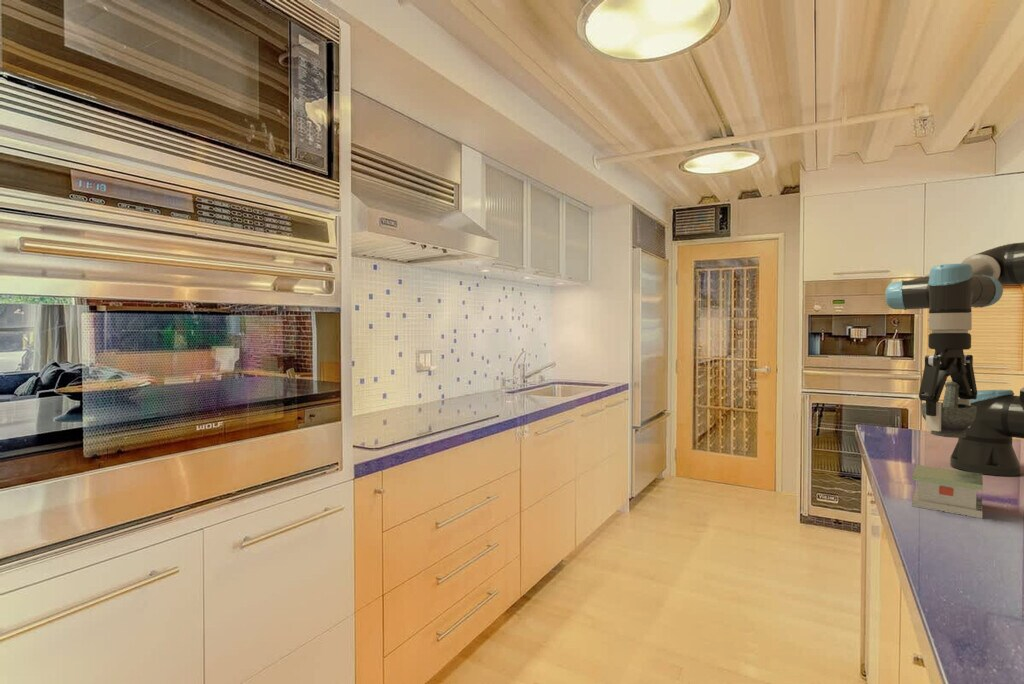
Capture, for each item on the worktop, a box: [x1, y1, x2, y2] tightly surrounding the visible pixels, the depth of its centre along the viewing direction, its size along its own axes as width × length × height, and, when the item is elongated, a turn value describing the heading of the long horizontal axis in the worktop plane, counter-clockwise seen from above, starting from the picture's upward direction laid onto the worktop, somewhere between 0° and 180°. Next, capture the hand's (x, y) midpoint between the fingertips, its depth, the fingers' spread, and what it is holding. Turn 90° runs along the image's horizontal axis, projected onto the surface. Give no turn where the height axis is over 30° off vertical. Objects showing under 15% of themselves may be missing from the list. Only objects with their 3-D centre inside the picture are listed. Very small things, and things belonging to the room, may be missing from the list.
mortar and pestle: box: [920, 381, 977, 439], centre depth 120 cm, size 11×9×12 cm
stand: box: [911, 464, 984, 519], centre depth 120 cm, size 12×12×7 cm
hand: (948, 428), depth 120 cm, fingers closed on mortar and pestle, 10 cm apart
